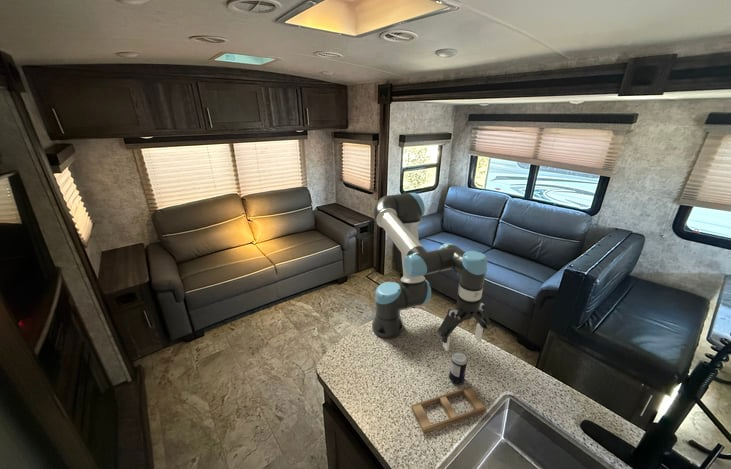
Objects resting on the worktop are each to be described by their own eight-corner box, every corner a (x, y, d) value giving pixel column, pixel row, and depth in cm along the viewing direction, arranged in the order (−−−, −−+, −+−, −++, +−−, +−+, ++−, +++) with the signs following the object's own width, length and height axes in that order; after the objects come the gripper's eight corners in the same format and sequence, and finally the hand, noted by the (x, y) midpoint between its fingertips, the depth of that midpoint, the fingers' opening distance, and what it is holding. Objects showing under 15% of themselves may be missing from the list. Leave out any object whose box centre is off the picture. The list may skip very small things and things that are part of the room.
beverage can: (464, 387, 108) (468, 364, 103) (449, 384, 109) (452, 361, 105) (463, 374, 113) (466, 352, 109) (448, 372, 114) (451, 350, 110)
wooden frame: (411, 408, 101) (411, 405, 100) (469, 390, 107) (469, 386, 106) (423, 434, 93) (423, 430, 92) (485, 412, 99) (486, 408, 98)
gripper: (442, 310, 89) (436, 360, 97) (507, 295, 95) (497, 343, 104) (430, 296, 95) (426, 344, 104) (492, 283, 102) (483, 329, 110)
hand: (461, 343), depth 104 cm, fingers open, 13 cm apart
